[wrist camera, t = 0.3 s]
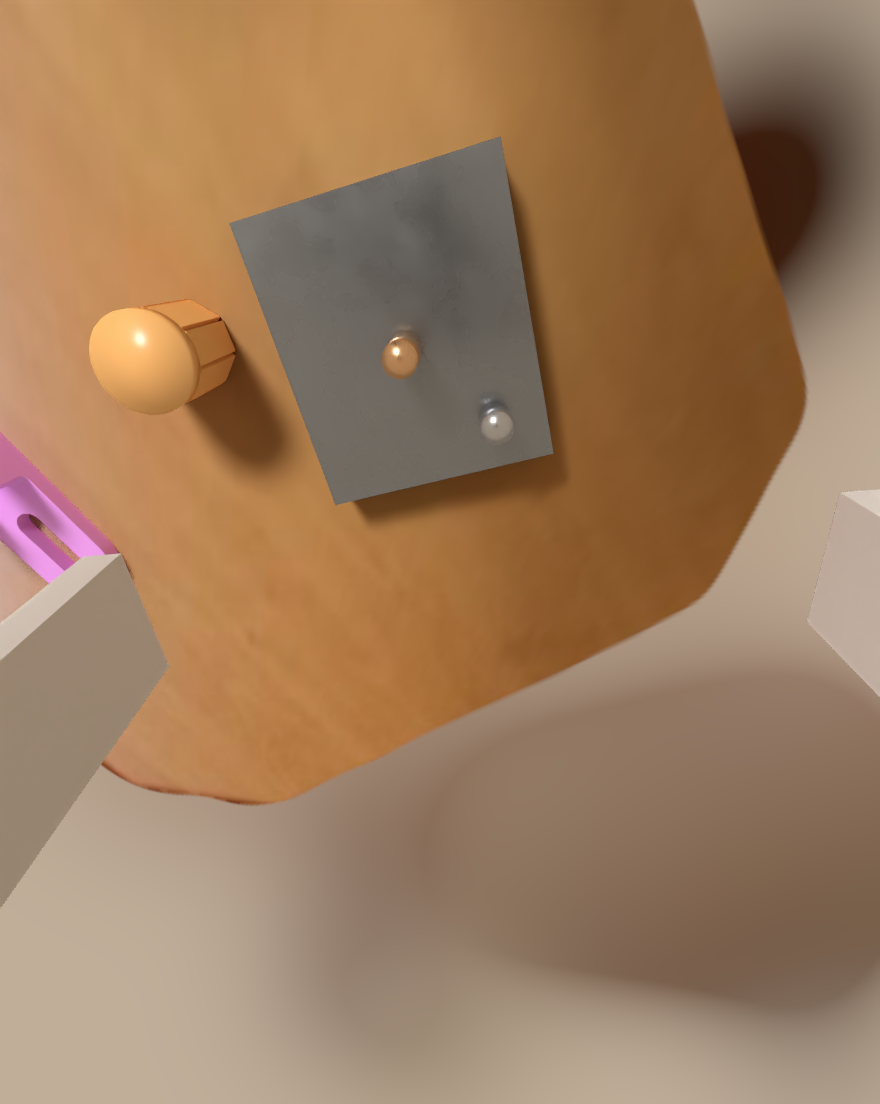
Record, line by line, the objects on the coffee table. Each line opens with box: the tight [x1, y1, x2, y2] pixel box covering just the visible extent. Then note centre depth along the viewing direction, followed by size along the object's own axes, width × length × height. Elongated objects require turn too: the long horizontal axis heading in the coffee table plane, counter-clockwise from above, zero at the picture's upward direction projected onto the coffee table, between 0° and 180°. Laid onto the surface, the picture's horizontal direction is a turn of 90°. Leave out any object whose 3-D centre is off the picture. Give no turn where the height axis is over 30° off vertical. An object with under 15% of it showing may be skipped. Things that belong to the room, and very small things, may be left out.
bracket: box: [0, 433, 118, 583], centre depth 37 cm, size 13×6×7 cm, turn 32°
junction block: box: [230, 137, 554, 505], centre depth 30 cm, size 16×14×7 cm
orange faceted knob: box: [89, 299, 236, 415], centre depth 31 cm, size 5×5×6 cm
